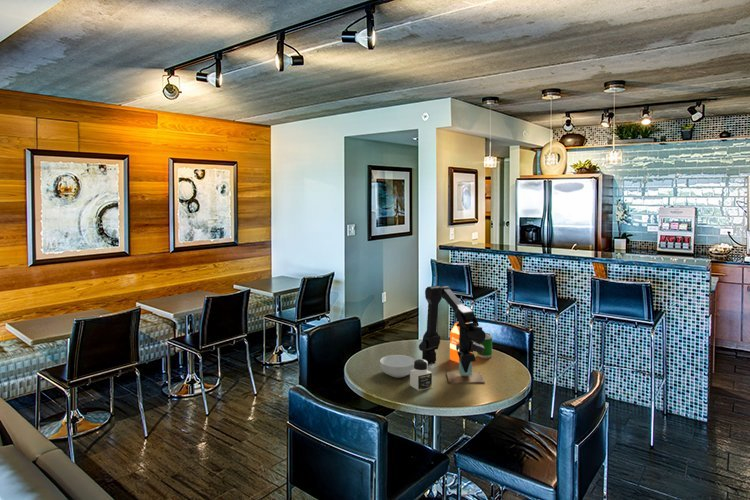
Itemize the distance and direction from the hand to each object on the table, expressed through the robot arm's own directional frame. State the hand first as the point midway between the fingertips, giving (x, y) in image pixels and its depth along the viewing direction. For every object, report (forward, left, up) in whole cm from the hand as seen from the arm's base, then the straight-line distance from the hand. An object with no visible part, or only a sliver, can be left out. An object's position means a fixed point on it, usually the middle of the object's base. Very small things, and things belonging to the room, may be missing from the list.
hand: (465, 370), depth 230 cm
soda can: (+15, +32, -4) cm, 36 cm away
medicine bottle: (-21, -10, -4) cm, 24 cm away
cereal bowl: (-31, +5, -4) cm, 32 cm away
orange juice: (+2, +27, -4) cm, 27 cm away
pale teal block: (0, 0, -2) cm, 2 cm away
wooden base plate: (0, 0, -4) cm, 4 cm away
